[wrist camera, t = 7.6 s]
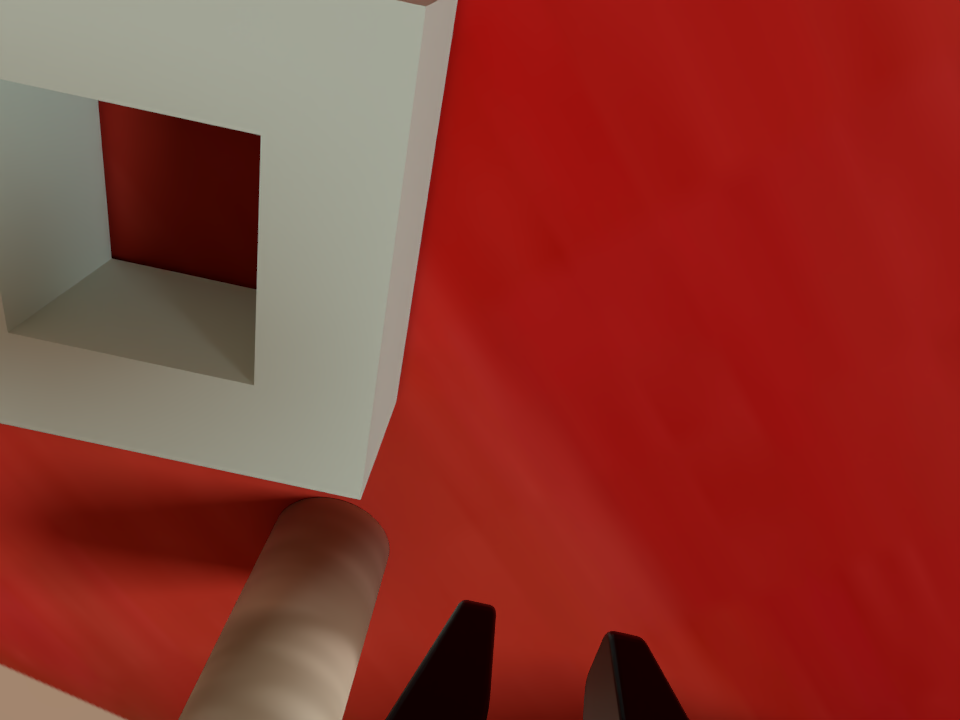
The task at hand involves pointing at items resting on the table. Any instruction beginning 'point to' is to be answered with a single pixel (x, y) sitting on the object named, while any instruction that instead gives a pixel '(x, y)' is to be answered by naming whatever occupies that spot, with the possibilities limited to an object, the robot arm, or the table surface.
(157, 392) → the block
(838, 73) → the table surface
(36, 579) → the table surface
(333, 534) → the dowel
